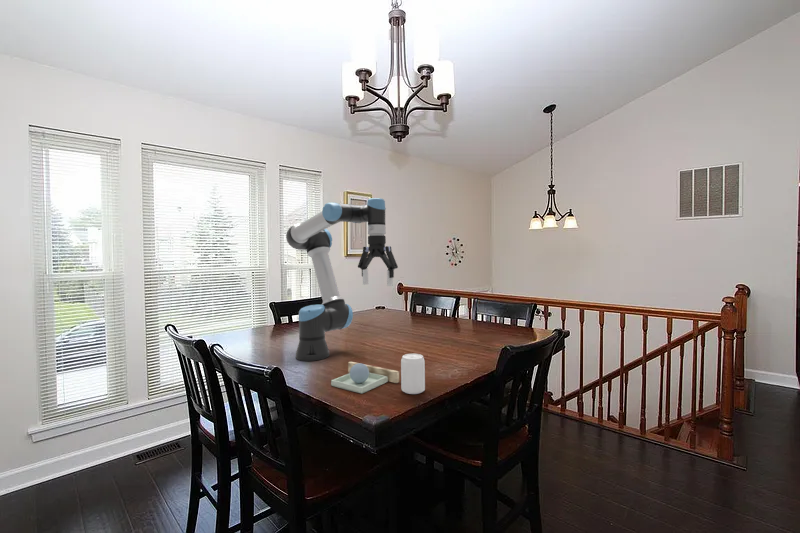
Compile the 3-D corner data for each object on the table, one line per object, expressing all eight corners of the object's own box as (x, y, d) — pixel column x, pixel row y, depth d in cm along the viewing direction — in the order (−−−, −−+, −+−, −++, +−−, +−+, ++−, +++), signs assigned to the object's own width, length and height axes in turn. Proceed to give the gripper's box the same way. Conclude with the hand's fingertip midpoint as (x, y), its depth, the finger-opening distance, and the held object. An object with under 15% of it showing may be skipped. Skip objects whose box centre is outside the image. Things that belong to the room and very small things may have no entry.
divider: (348, 372, 155) (348, 362, 155) (350, 371, 156) (350, 361, 156) (396, 383, 141) (396, 372, 141) (399, 382, 142) (399, 371, 142)
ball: (346, 383, 140) (345, 364, 140) (358, 378, 146) (358, 360, 145) (360, 387, 136) (360, 367, 136) (373, 381, 142) (372, 362, 141)
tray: (331, 385, 139) (331, 380, 139) (358, 375, 151) (358, 369, 151) (361, 393, 131) (361, 388, 131) (387, 381, 143) (387, 376, 142)
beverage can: (400, 387, 137) (399, 353, 136) (423, 386, 137) (422, 352, 137) (402, 395, 128) (402, 360, 128) (426, 394, 129) (426, 359, 129)
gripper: (349, 235, 169) (350, 284, 170) (394, 233, 154) (395, 287, 155) (361, 236, 175) (361, 283, 176) (405, 234, 160) (406, 285, 161)
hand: (377, 285), depth 165 cm, fingers open, 13 cm apart
